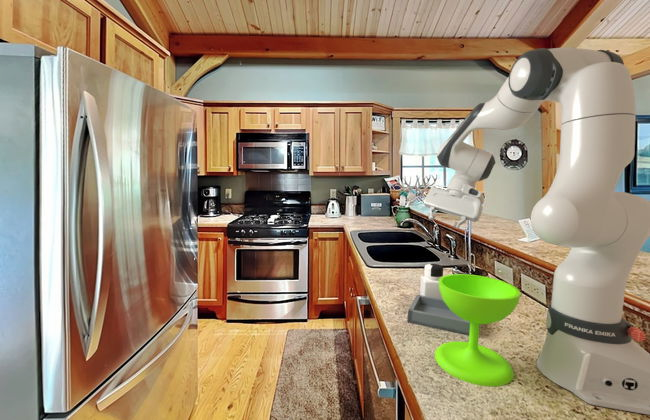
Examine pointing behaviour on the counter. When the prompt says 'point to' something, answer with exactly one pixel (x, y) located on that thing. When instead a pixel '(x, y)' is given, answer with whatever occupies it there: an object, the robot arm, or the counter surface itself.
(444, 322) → the parts tray
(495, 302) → the wineglass
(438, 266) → the medicine bottle
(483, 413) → the counter surface
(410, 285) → the counter surface
